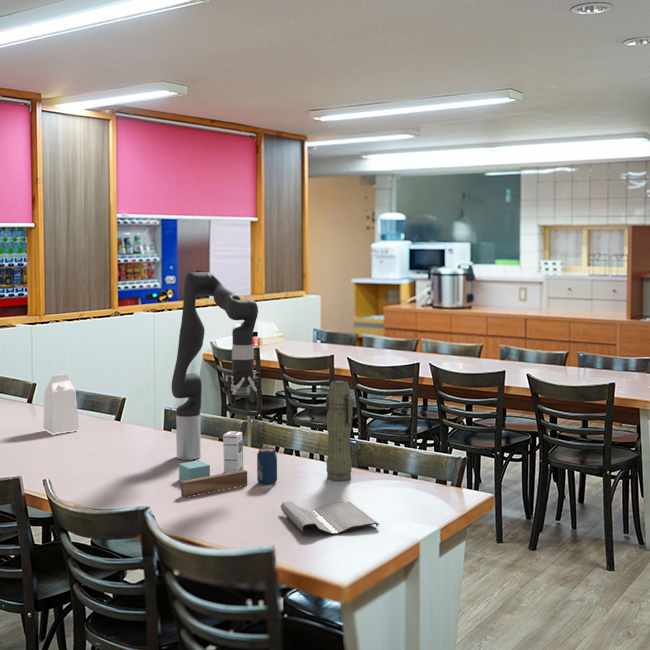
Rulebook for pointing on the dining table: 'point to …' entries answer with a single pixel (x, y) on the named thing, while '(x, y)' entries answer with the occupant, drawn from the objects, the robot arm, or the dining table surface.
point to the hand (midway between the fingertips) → (242, 403)
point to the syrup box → (233, 451)
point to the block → (193, 470)
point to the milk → (60, 405)
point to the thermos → (339, 431)
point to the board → (213, 483)
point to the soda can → (267, 466)
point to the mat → (328, 516)
